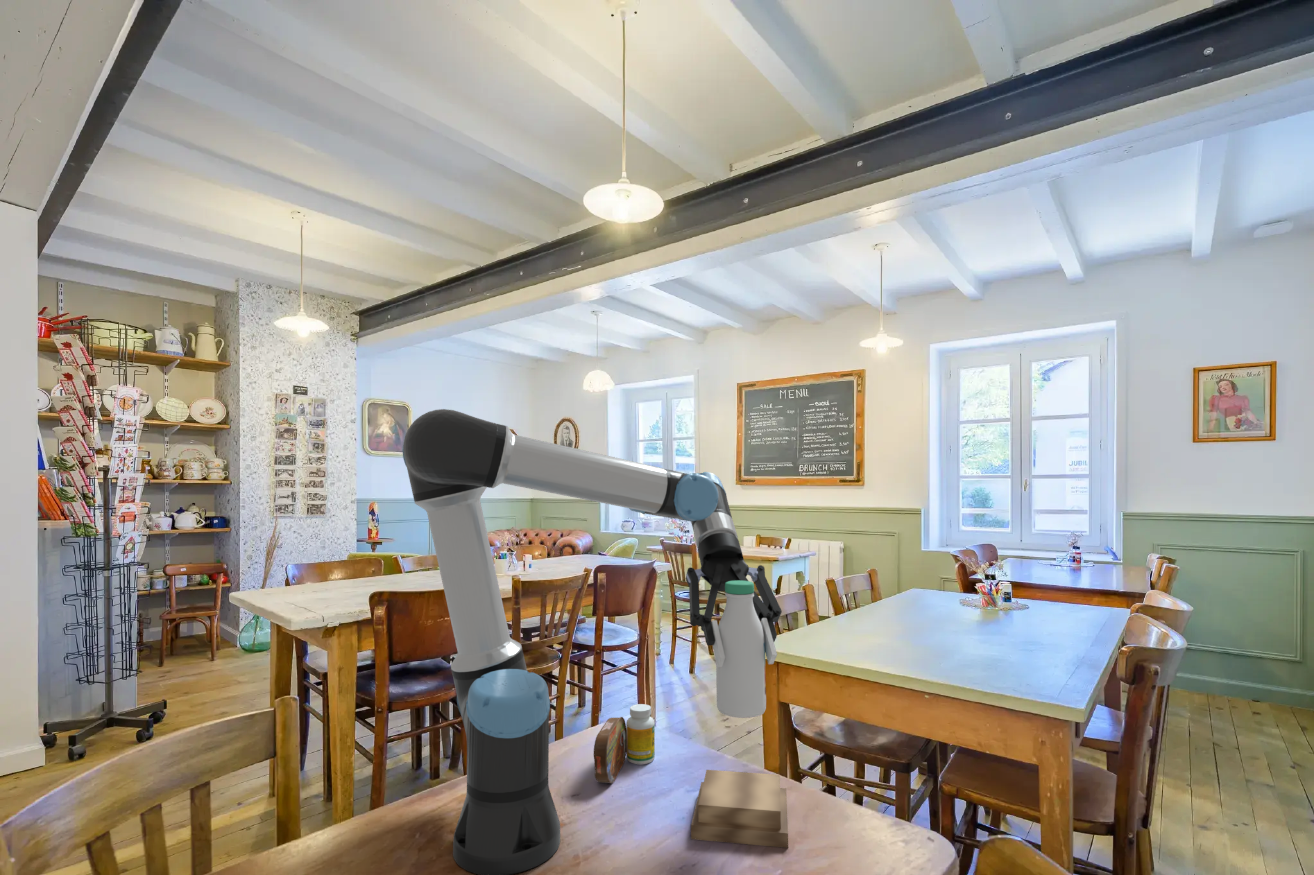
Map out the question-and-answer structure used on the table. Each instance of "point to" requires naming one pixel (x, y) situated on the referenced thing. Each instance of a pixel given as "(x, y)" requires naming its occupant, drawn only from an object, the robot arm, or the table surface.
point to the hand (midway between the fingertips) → (747, 660)
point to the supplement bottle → (640, 735)
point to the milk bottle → (741, 655)
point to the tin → (610, 750)
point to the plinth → (742, 831)
